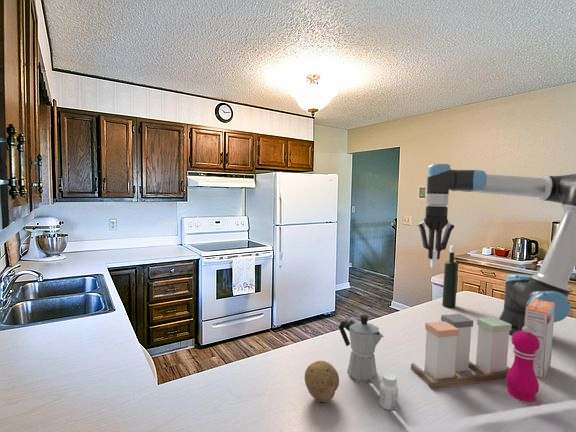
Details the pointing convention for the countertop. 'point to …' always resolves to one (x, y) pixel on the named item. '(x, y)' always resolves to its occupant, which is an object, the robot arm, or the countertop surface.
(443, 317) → the gray lidded canister
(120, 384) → the countertop surface
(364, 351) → the coffee maker
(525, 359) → the pepper mill
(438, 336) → the orange lidded canister
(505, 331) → the green lidded canister
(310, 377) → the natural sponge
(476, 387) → the countertop surface
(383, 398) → the pill bottle
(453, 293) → the wine bottle
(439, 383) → the wooden stand
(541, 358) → the cracker box
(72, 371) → the countertop surface
